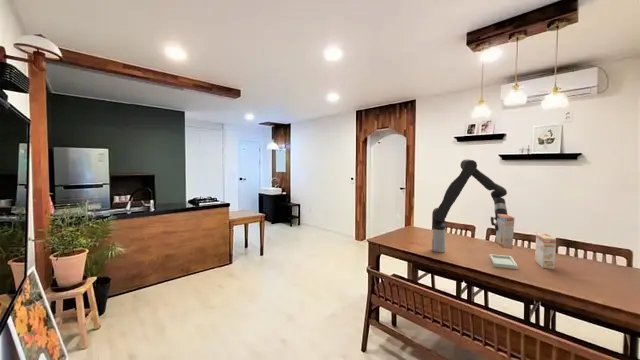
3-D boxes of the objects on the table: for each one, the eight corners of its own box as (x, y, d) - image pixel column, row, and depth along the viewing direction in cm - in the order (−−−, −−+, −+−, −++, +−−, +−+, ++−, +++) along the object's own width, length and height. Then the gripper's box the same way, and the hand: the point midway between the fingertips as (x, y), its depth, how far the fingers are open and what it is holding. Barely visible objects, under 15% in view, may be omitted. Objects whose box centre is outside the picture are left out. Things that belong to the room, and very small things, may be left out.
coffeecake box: (555, 269, 191) (556, 239, 190) (542, 267, 194) (543, 238, 192) (546, 261, 205) (548, 233, 204) (534, 260, 208) (535, 233, 206)
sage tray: (493, 266, 196) (493, 263, 196) (489, 256, 216) (489, 253, 216) (517, 269, 191) (518, 265, 191) (511, 259, 211) (511, 256, 211)
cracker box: (513, 249, 195) (515, 217, 194) (502, 248, 197) (504, 217, 195) (504, 243, 209) (506, 213, 207) (495, 242, 210) (496, 213, 209)
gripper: (489, 207, 215) (491, 226, 205) (513, 208, 209) (516, 228, 199) (488, 213, 220) (490, 232, 210) (511, 214, 214) (514, 234, 204)
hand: (503, 230), depth 204 cm, fingers closed on cracker box, 6 cm apart
